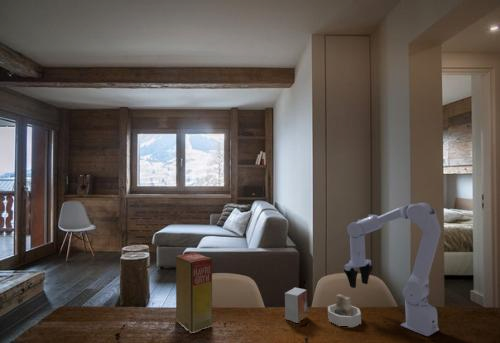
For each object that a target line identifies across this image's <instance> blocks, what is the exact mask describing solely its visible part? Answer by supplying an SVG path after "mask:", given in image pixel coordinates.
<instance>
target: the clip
mask: <svg viewBox="0 0 500 343" xmlns="http://www.w3.org/2000/svg"><path fill="white" fill-rule="evenodd" d="M335 314H337V315H341V316H346V313H345V312H343V311H341V310H338V309H336V310H335ZM351 316H353V309H351Z"/></svg>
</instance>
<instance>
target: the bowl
mask: <svg viewBox="0 0 500 343" xmlns="http://www.w3.org/2000/svg"><path fill="white" fill-rule="evenodd" d="M351 309H353V316H341V315H337V314H335V310H336V303H334V304H331V305H328V306H327V318H328V319H329V320H328V322H329V321H330V322H329V323H331V322H332V323H331V324H333V323H334V324H333V325H335V324H336V326H337V325H338V326H337V327H340V326H348V327H347V328H354V327H357V326H359V324H360V325H362V313H361V312H362V311H361V310H360V308H359V307H356V306H353V305H351Z"/></svg>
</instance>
